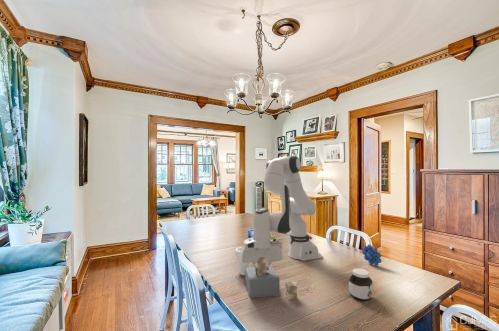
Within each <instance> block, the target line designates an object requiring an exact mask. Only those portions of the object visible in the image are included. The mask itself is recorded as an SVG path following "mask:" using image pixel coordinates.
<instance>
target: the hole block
mask: <svg viewBox="0 0 499 331" xmlns="http://www.w3.org/2000/svg"><path fill="white" fill-rule="evenodd" d="M244 276H245V286H246V291H247V293H248V295H249V296H248V297H249V298H250V299H253V298H254V299H255V298H267V297H277V296H280V286H281V285H280V277H279V275H278V273H277V272H276V271H275V268H274V267H273V265H270V266H269V270H267V275H258V276H257V271H255V267H254V266H250V267H248V268H245V275H244Z"/></svg>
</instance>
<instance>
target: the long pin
mask: <svg viewBox="0 0 499 331" xmlns="http://www.w3.org/2000/svg"><path fill="white" fill-rule="evenodd" d="M267 264H268V262H267V257H261V258H258V262H256V266H258V271H257V276H258V275H267Z"/></svg>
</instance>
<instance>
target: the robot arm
mask: <svg viewBox="0 0 499 331" xmlns="http://www.w3.org/2000/svg"><path fill="white" fill-rule="evenodd" d="M301 165H302V163H301V160H300V158H299V157H298V156H296V155H290V156H281V157H277V158H272V159H269V160H267V162H266V165H265V167H266V168H265V169H266V170H265V175H264V180H263V182H264V184H263V185H264V187H265V189H266V190H267V191H269V192H270V193H271V194H273V195H276V196H279V197H280V199H281V212H280V213H277V212H270V210H269V209H268V208H267V207H258V208H256V209H254V211H253V215H252V216H253V217H252V230H253V232H252V237H249V238H247V239H244V240H243V246H241V247H242V251H241V261H242V262H243V263H251V264H252V265H253V267H255V271H258V266H257V262H258V258H261V257H267V270H269V266H271V264H272V262H278V261H280V262H281V261H282V260H283V252H282V249H283V243H282V242H281V241H279V240H276V241H275V240H273V241H272V238H271V232H272V233H278V234H282V235H287V234H288V233H289V237H288V238H289V248H288V253H287V255H288V257H289V258H291V259H295V260H299V261H303V262H304V261H305V262H306V261H311V260H317V259H322V258H323V254H322V253H321V252H319V248H318V246H317V245H316V244H315V243H313V241H311V240H313V237H312V236H311V235H309V234H307V233H308V229H307V228H308V226H307V222H306V221H305V219H303V217H302V216H313V215H314V214H315V213H316V210H317V205H316V204H317V203H315V201H314V200H312V199H311V198H310V196H308V194H307V193H306V191H305V189H304V187H303V182H302V179H301V175H300V170H301Z"/></svg>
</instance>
